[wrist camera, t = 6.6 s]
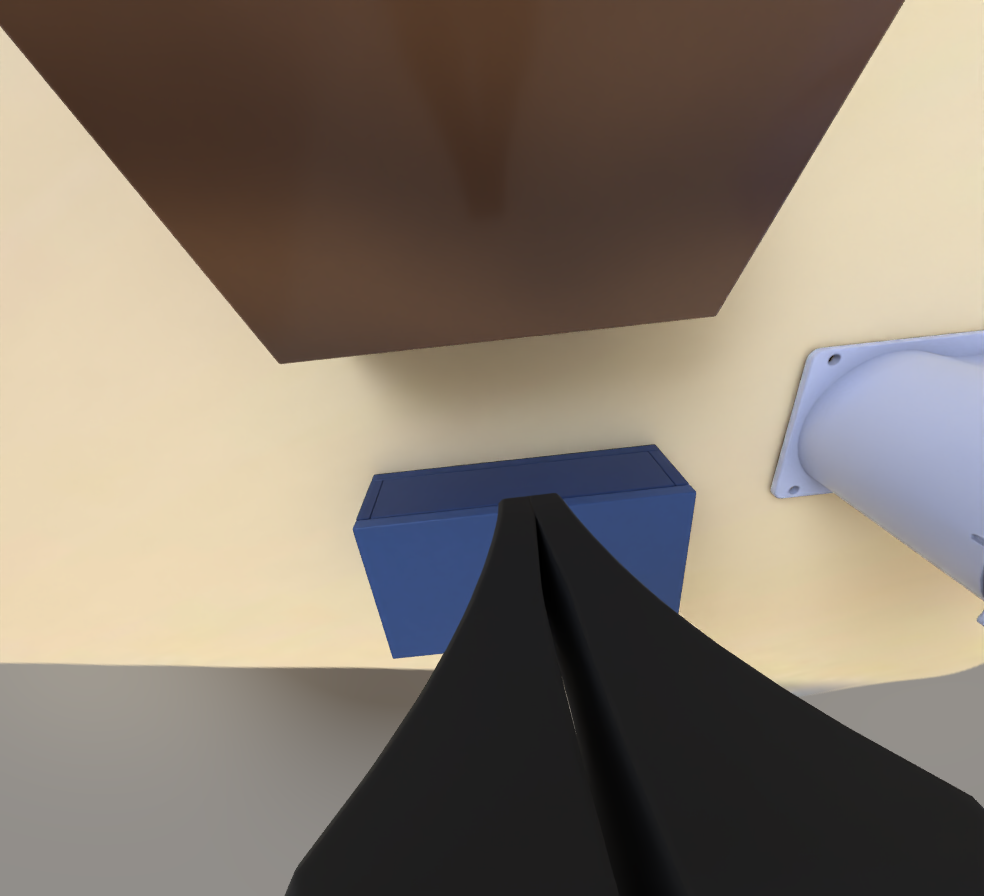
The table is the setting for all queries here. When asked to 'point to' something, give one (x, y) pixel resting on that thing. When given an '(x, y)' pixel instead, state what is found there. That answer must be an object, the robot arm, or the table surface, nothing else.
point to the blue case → (518, 481)
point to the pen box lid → (456, 150)
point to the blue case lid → (464, 548)
